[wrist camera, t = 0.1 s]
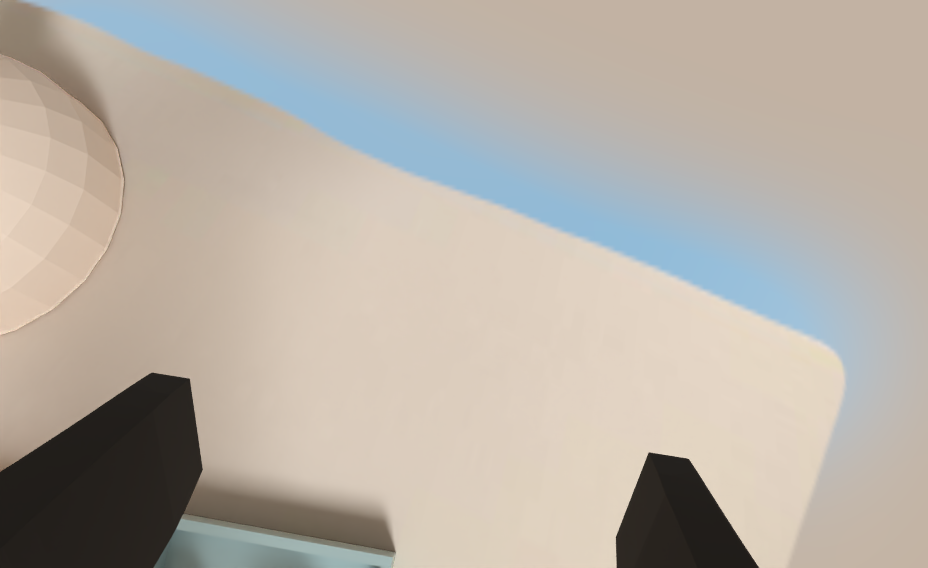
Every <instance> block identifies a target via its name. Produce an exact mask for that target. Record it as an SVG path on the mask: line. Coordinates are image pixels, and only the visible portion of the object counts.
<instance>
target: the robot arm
mask: <svg viewBox="0 0 928 568" xmlns="http://www.w3.org/2000/svg"><path fill="white" fill-rule="evenodd" d="M202 470H203V469H202V462H201V455H200V448H199V441H198V434H197V427H196V420H195V413H194V406H193V399H192V392H191V385H190V379H188V378H182V377H176V376H169V375H163V374H157V373H150V374H149V375H147V376H146V377H144V378H143V379H141V380H139V381H138V382H136V383H135V384H133V385H132V386H130V387H129V388H127V389H126V390H124V391H123V392H121V393H120V394H118V395H117V396H115V397H114V398H112V399H111V400H109V401H108V402H106V403H105V404H103V405H102V406H100V407H99V408H97V409H96V410H94V411H93V412H92V413H90V414H89V415H87V416H86V417H84V418H83V419H81V420H80V421H78V422H77V423H75V424H74V425H72V426H71V427H69V428H68V429H66V430H64V431H63V432H61V433H60V434H58V435H57V436H55V437H54V438H52V439H51V440H49V441H48V442H46V443H45V444H43V445H41V446H40V447H38V448H37V449H35V450H34V451H32V452H31V453H29V454H28V455H26V456H25V457H23V458H22V459H20V460H18V461H17V462H15V463H14V464H12V465H11V466H9V467H7V468H6V469H4V470H2V471H1V472H0V568H154V566H155V564H156V563H157V561H158V559H159V558H160V556H161V554H162V553H163V551H164V549H165V548H166V546H167V544H168V542H169V541H170V539H171V537H172V536H173V534H174V532H175V530H176V528H177V526H178V524H179V522H180V520H181V517H182V515H183V513H184V511H185V509H186V507H187V504H188V502H189V500H190V498H191V495H192V493H193V491H194V488H195V486H196V484H197V481H198V479H199V477H200V475H201V472H202ZM616 557H617V568H759V567H758V565H757V564H756V562H755V561H754V559H753V558H752V556H751V555H750V553H749V552H748V550H747V549H746V547H745V546H744V544H743V543H742V541H741V540H740V538H739V537H738V535H737V534H736V532H735V530H734V529H733V527H732V526H731V524H730V523H729V521H728V520H727V518H726V517H725V515H724V513H723V512H722V510H721V509H720V507H719V505H718V504H717V502H716V501H715V499H714V498H713V496H712V494H711V493H710V491H709V490H708V488H707V487H706V485H705V483H704V482H703V480H702V479H701V477H700V475H699V474H698V472H697V471H696V469H695V468H694V466H693V465H692V463H691V462H690V460H689V459H686V458H680V457H674V456H668V455H661V454H655V453H648V456H647V458H646V461H645V464H644V466H643V469H642V471H641V474H640V477H639V479H638V482H637V484H636V487H635V489H634V492H633V495H632V497H631V500H630V502H629V505H628V507H627V510H626V513H625V515H624V518H623V520H622V523H621V526H620V528H619V531H618V533H617V536H616Z"/></svg>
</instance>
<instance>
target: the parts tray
mask: <svg viewBox="0 0 928 568" xmlns="http://www.w3.org/2000/svg"><path fill="white" fill-rule="evenodd" d="M395 554H396V552H392V551H386V550H381V549H375V548H370V547H364V546H359V545H353V544H348V543H342V542H337V541H331V540H326V539H320V538H315V537H309V536H304V535H298V534H293V533H287V532H282V531H276V530H271V529H265V528H260V527H254V526H249V525H243V524H238V523H232V522H227V521H221V520H216V519H210V518H205V517H199V516H194V515H188V514H183V515H182V517H181V520H180V522H179V524H178V526H177V528H176V530H175V532H174V534H173V536H172V537H171V539H170V541H169V542H168V544H167V546H166V548H165V549H164V551H163V553H162V554H161V556H160V558H159V559H158V561H157V563H156V564H155V566H154V568H393V564H394V559H395Z"/></svg>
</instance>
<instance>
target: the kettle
mask: <svg viewBox="0 0 928 568" xmlns="http://www.w3.org/2000/svg"><path fill="white" fill-rule="evenodd" d="M123 187H124V177H123V172H122V167H121V162H120V158H119V153H118V148H117V147H116V145H115V143H114V141H113V140H112V138H111V136H110V134H109V133H108V131H107V129H106V128H105V126H104V124H103V122H102V121H101V120H100V119H99V118H98V117H97V116H95V115H94V114H93V113H92V112H91V111H90V110H89V109H88V108H87V107H86V106H84V105H83V104H82V103H81V102H80V101H79V100H77V99H75V98H73V97H72V96H71V95H69V94H68V93H67V92H66V91H64V90H63V89H62V88H61V87H59V86H58V85H57V84H56V83H54V82H53V81H52V80H51V79H50V78H48V77H47V76H46V75H45V74H43V73H42V72H40V71H38V70H36V69H34V68H32V67H30V66H28V65H26V64H24V63H22V62H20V61H17V60H15V59H13V58H11V57H8V56H5V55H3V54H0V335H1V334H5V333H8V332H12V331H15V330H17V329H18V328H20V327H22V326H24V325H26V324H27V323H29V322H31V321H33V320H35V319H36V318H38V317H40V316H42V315H44V314H45V313H47V312H49V311H51V310H53V309H54V308H55V307H56V306H57V305H58V304H59V303H61V302H62V301H63V300H64V299H65V298H66V297H67V296H68V295H70V294H71V293H72V292H73V291H74V290H75V289H76V288H77V287H79V286H80V285H81V284H82V283H83V282H84V281H85V280H86V278H87V277H88V276H89V274H90V273H91V271H92V270H93V268H94V267H95V266H96V264H97V263H98V261H99V260H100V259H101V257H102V256H103V254H104V253H105V252H106V250H107V249H108V246H109V244H110V241H111V238H112V236H113V233H114V231H115V228H116V226H117V223H118V220H119V218H120V215H121V208H122V198H123Z"/></svg>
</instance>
